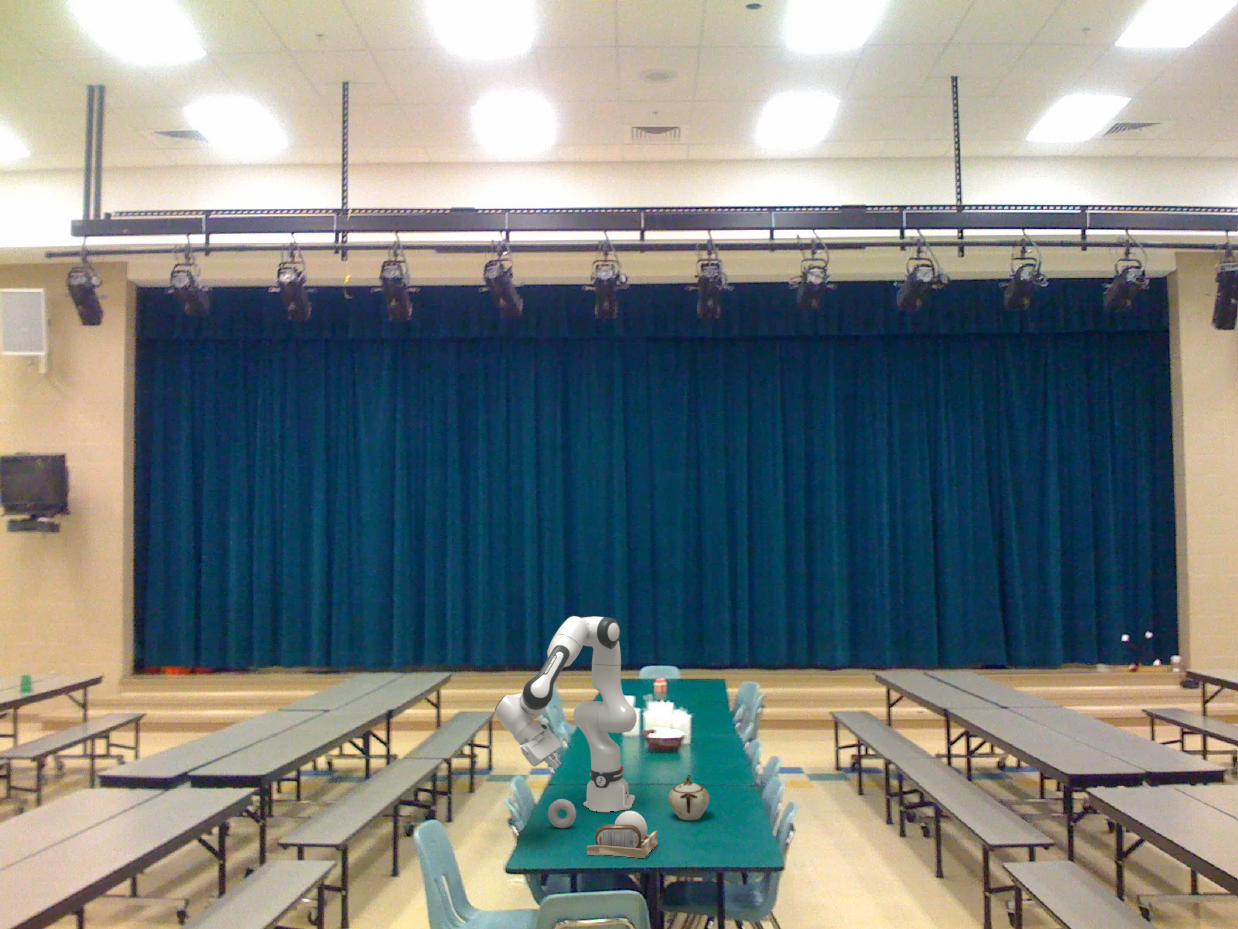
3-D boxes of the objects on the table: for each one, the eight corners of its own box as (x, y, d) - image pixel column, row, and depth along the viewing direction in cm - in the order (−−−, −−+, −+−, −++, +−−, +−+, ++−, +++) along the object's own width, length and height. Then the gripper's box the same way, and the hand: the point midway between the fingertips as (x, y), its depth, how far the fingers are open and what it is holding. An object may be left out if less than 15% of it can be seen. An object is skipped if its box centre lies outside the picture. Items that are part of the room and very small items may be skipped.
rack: (602, 839, 320) (602, 826, 321) (657, 844, 314) (657, 830, 314) (585, 855, 305) (585, 841, 305) (643, 861, 299) (642, 846, 299)
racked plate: (616, 843, 316) (615, 809, 317) (647, 846, 313) (646, 812, 313) (614, 845, 315) (613, 811, 316) (646, 847, 311) (645, 813, 312)
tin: (641, 849, 310) (640, 823, 310) (641, 853, 307) (640, 826, 307) (595, 850, 310) (594, 824, 311) (595, 854, 307) (594, 827, 307)
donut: (577, 826, 335) (576, 798, 336) (575, 830, 332) (574, 800, 332) (549, 826, 336) (548, 797, 337) (547, 829, 333) (546, 800, 333)
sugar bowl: (710, 825, 332) (709, 781, 333) (667, 825, 334) (666, 782, 335) (709, 808, 352) (708, 767, 353) (669, 808, 353) (668, 767, 354)
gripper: (523, 737, 314) (552, 769, 311) (547, 723, 334) (575, 752, 330) (511, 750, 315) (540, 782, 312) (536, 735, 335) (563, 765, 331)
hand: (558, 766), depth 321 cm, fingers closed
